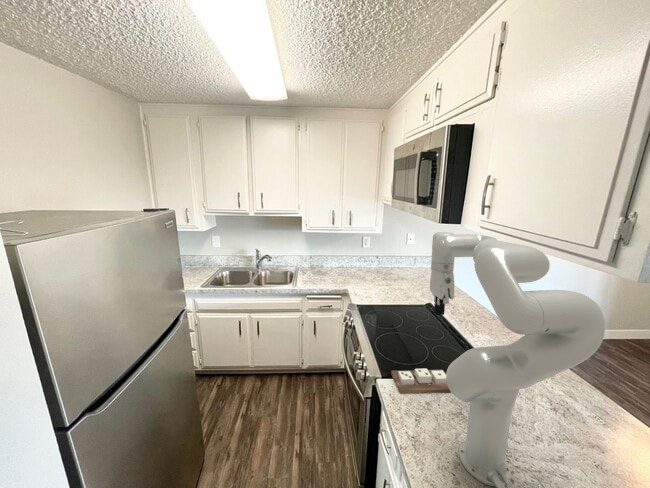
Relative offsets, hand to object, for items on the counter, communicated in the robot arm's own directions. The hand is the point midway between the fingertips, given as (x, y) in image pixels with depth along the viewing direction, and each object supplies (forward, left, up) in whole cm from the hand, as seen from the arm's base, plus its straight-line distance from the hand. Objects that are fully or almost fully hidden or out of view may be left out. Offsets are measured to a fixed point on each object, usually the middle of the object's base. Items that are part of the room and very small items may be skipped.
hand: (439, 313), depth 96 cm
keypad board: (+6, +2, -33) cm, 34 cm away
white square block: (+6, +9, -33) cm, 34 cm away
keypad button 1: (+6, -5, -32) cm, 33 cm away
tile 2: (+6, +2, -31) cm, 32 cm away
